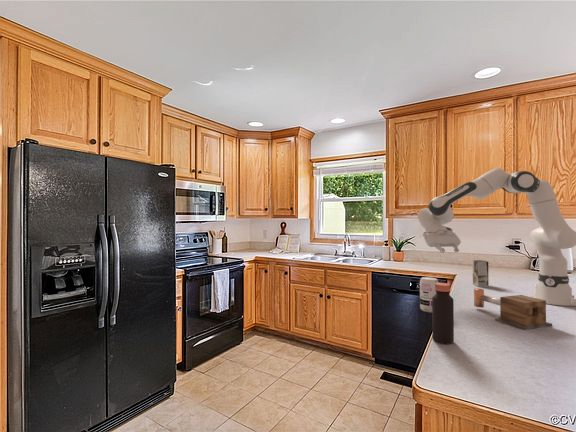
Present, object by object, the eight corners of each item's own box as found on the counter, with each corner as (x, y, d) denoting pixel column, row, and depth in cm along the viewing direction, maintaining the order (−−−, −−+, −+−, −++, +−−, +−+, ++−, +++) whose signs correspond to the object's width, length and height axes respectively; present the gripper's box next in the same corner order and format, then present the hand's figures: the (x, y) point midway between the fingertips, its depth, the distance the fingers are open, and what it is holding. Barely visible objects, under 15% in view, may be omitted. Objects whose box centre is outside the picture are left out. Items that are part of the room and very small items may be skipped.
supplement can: (437, 308, 151) (437, 277, 151) (440, 313, 143) (439, 280, 143) (419, 307, 153) (419, 276, 154) (420, 312, 146) (420, 279, 146)
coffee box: (489, 287, 198) (488, 261, 198) (477, 287, 199) (477, 261, 199) (483, 284, 207) (483, 259, 207) (472, 284, 208) (472, 259, 208)
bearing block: (522, 316, 138) (521, 294, 138) (552, 325, 127) (552, 300, 127) (494, 320, 133) (494, 296, 133) (523, 329, 122) (523, 304, 122)
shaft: (478, 304, 152) (478, 288, 152) (519, 316, 134) (518, 297, 134) (472, 305, 151) (472, 288, 151) (512, 317, 132) (511, 298, 132)
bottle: (450, 346, 106) (450, 287, 107) (429, 341, 111) (429, 284, 111) (456, 340, 111) (455, 283, 112) (435, 335, 116) (435, 281, 116)
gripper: (424, 228, 170) (438, 248, 160) (454, 228, 176) (468, 247, 167) (418, 236, 174) (431, 256, 165) (447, 235, 180) (461, 254, 171)
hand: (450, 251), depth 166 cm, fingers open, 8 cm apart
